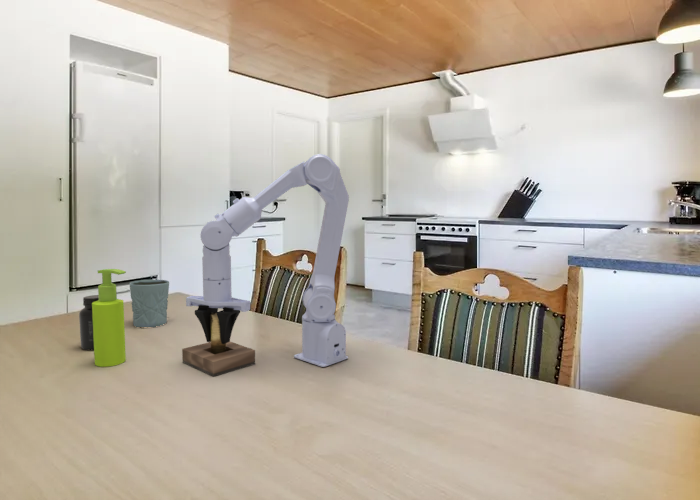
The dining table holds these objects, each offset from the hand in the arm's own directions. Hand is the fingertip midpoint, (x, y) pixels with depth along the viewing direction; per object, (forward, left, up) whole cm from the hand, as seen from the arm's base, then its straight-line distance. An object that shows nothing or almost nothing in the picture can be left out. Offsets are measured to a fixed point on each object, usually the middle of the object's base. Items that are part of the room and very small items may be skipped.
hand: (218, 341), depth 97 cm
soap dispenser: (+17, +15, -5) cm, 23 cm away
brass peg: (0, 0, -3) cm, 3 cm away
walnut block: (0, 0, -5) cm, 5 cm away
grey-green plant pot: (+42, -5, -5) cm, 43 cm away
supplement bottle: (+31, +13, -5) cm, 34 cm away
